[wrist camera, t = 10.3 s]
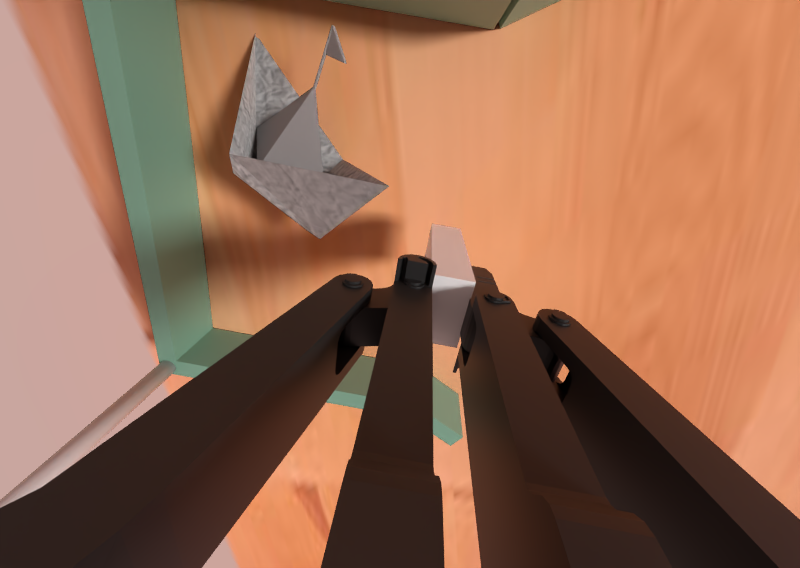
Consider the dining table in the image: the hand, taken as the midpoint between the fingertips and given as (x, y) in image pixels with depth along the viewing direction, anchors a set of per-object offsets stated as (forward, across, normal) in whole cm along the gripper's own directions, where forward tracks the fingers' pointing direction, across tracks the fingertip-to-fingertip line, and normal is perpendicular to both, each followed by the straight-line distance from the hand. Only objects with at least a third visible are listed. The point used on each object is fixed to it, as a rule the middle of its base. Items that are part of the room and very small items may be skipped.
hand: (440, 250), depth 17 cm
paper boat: (+4, -7, +4) cm, 9 cm away
